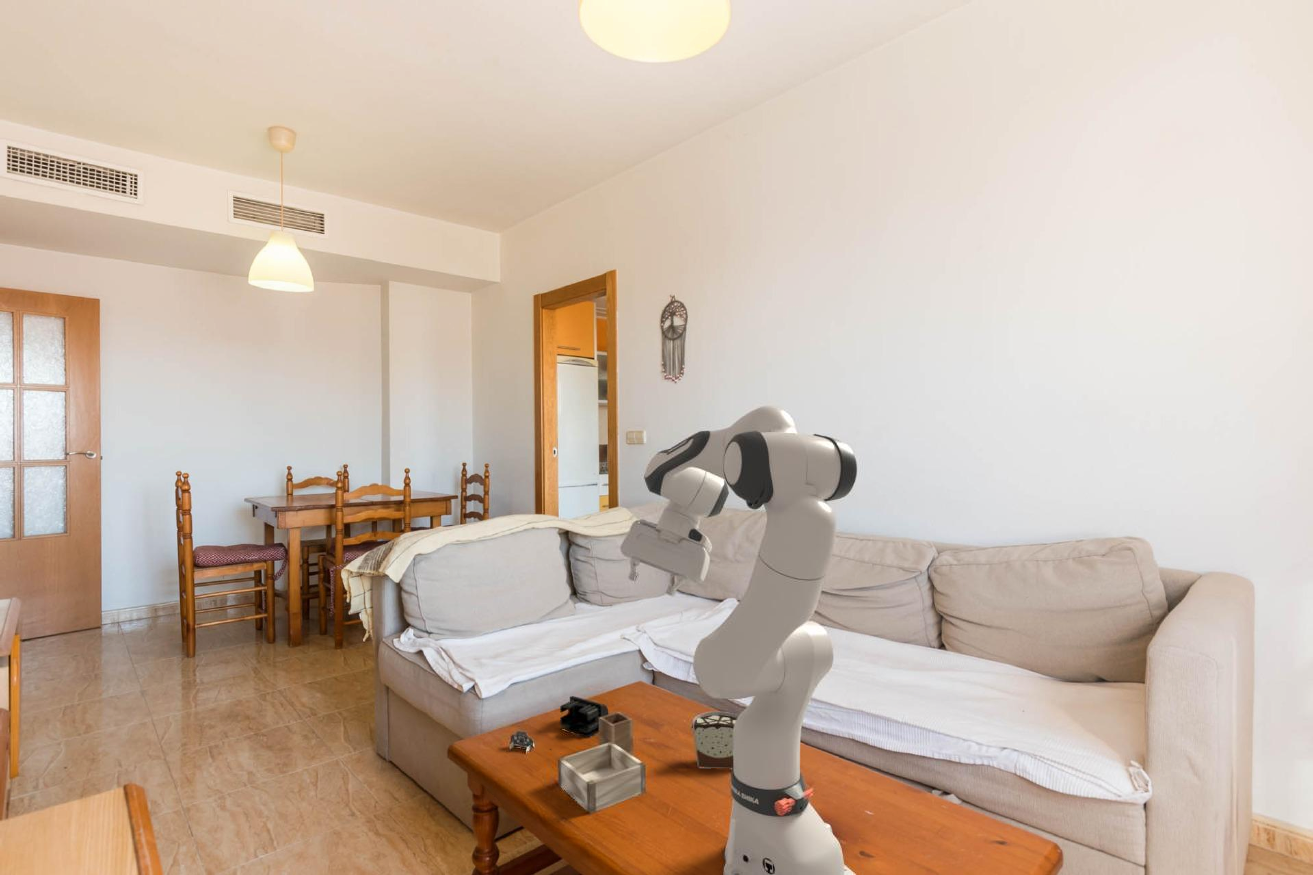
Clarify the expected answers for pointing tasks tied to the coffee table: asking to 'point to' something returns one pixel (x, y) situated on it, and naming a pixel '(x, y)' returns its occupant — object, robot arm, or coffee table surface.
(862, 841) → the coffee table surface
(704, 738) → the food container
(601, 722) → the small crate
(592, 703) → the end cap
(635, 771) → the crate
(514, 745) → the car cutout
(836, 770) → the coffee table surface
